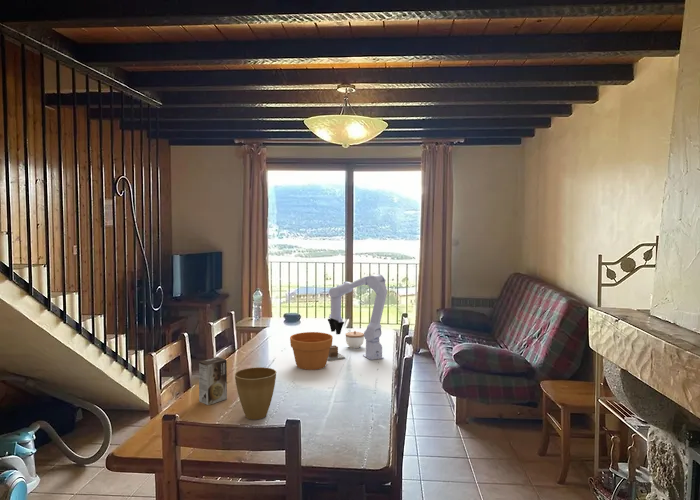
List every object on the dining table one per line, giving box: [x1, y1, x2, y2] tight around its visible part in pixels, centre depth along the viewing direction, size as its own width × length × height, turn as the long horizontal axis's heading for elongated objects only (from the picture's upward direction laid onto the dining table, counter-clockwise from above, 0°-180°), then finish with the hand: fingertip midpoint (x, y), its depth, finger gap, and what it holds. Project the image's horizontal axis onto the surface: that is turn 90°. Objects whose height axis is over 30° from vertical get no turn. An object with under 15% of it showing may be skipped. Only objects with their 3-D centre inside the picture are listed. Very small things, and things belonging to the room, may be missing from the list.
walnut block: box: [328, 344, 339, 357], centre depth 259 cm, size 4×4×5 cm
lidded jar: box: [345, 330, 365, 349], centre depth 282 cm, size 11×11×9 cm
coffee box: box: [198, 356, 228, 406], centre depth 193 cm, size 9×6×16 cm
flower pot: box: [289, 331, 333, 371], centre depth 243 cm, size 21×21×15 cm
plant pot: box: [234, 366, 277, 420], centre depth 178 cm, size 15×15×16 cm
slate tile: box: [327, 352, 346, 361], centre depth 260 cm, size 10×10×1 cm
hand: (335, 332), depth 272 cm, fingers open, 7 cm apart
